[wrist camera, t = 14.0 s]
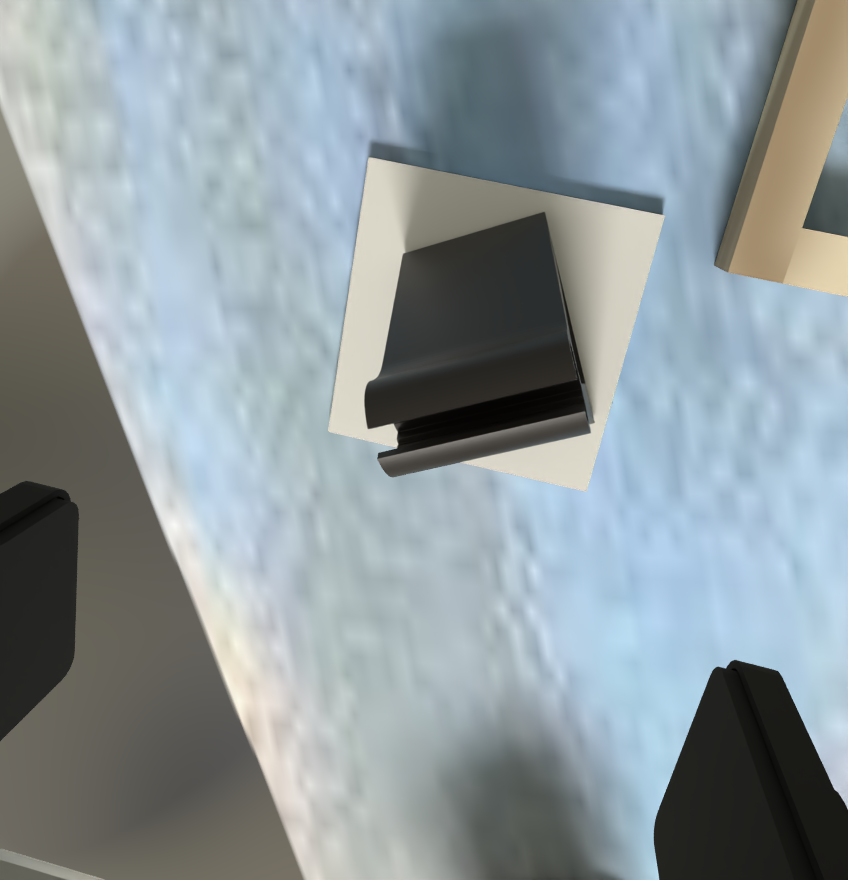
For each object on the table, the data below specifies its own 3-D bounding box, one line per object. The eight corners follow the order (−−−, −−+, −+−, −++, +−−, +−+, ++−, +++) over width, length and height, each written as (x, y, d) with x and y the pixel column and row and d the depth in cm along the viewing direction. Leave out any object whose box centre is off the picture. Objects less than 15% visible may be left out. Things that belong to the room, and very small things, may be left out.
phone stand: (404, 251, 31) (322, 288, 20) (546, 210, 30) (542, 226, 19) (460, 450, 34) (415, 582, 22) (594, 420, 32) (617, 546, 21)
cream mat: (662, 214, 30) (665, 215, 29) (586, 486, 34) (586, 491, 33) (372, 157, 31) (368, 157, 30) (331, 427, 35) (328, 431, 34)
